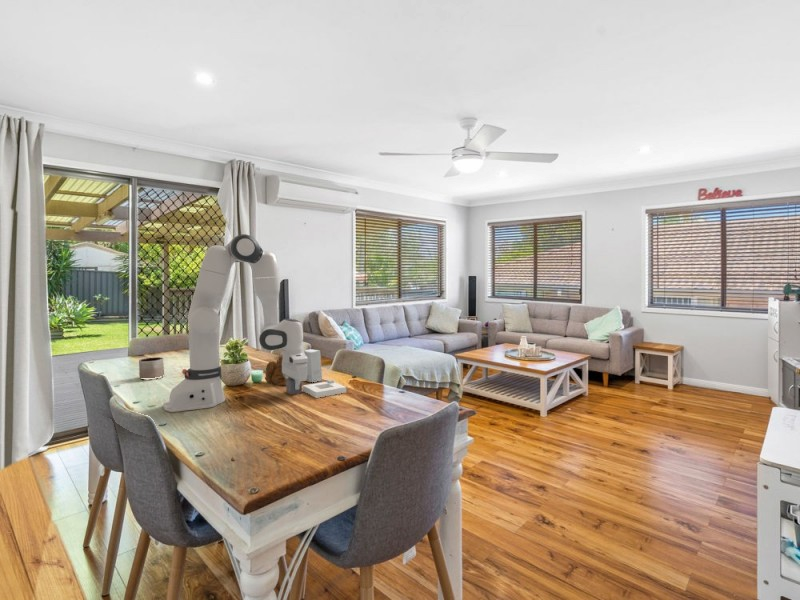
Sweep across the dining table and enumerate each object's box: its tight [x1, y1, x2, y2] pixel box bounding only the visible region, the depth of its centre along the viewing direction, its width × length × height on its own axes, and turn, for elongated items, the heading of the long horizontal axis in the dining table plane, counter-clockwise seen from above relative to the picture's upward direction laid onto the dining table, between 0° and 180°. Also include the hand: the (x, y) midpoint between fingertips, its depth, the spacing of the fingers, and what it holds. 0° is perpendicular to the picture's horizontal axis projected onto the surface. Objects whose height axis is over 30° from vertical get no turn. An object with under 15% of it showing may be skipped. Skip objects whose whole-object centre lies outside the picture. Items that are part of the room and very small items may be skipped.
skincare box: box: [304, 348, 323, 384], centre depth 213 cm, size 8×6×15 cm
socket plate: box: [302, 379, 347, 399], centre depth 193 cm, size 14×14×3 cm
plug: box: [285, 378, 303, 396], centre depth 192 cm, size 5×5×8 cm
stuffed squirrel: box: [264, 354, 287, 387], centre depth 210 cm, size 10×14×13 cm
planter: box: [138, 356, 165, 379], centre depth 223 cm, size 11×11×10 cm
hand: (294, 387), depth 192 cm, fingers closed on plug, 5 cm apart
